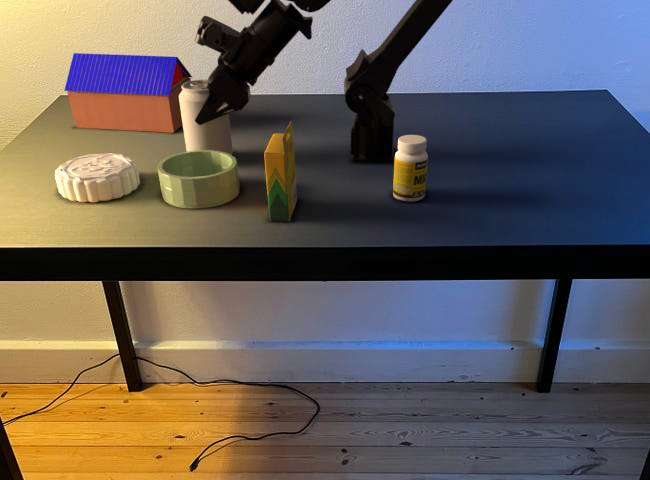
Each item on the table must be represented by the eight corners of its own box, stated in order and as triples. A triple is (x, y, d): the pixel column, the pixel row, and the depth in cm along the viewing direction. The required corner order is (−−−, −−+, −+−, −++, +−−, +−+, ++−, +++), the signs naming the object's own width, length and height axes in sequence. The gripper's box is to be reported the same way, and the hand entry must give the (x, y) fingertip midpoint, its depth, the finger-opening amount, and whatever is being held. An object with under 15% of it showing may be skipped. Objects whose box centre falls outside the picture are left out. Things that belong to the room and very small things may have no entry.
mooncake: (100, 209, 97) (95, 185, 95) (42, 193, 102) (35, 170, 100) (156, 180, 106) (153, 158, 104) (100, 167, 111) (95, 145, 108)
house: (174, 133, 124) (164, 65, 117) (73, 127, 127) (57, 61, 120) (197, 113, 133) (189, 49, 126) (102, 108, 136) (89, 45, 129)
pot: (246, 179, 106) (243, 150, 103) (230, 209, 97) (227, 179, 94) (174, 177, 107) (170, 148, 104) (152, 207, 98) (147, 177, 95)
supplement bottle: (415, 205, 98) (419, 147, 93) (387, 198, 100) (389, 141, 95) (430, 193, 101) (434, 137, 96) (402, 187, 103) (405, 131, 98)
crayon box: (277, 199, 100) (272, 119, 93) (297, 200, 99) (293, 119, 92) (268, 221, 94) (262, 137, 87) (289, 222, 93) (284, 138, 86)
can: (224, 168, 110) (216, 91, 102) (180, 165, 111) (169, 88, 104) (239, 152, 116) (231, 78, 108) (197, 149, 117) (187, 76, 110)
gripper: (230, -14, 106) (170, 61, 113) (216, 8, 91) (147, 93, 98) (283, 40, 111) (223, 109, 118) (277, 69, 96) (208, 147, 103)
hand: (201, 113), depth 109 cm, fingers open, 9 cm apart
